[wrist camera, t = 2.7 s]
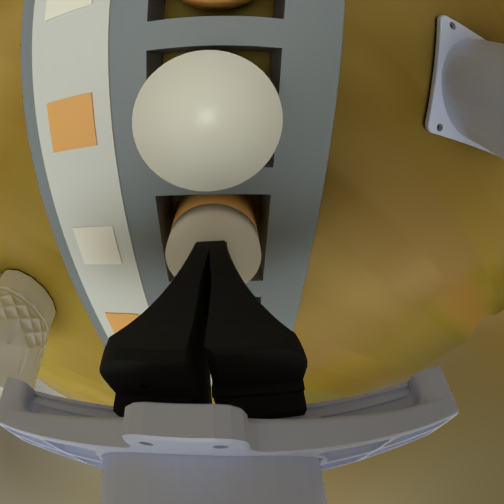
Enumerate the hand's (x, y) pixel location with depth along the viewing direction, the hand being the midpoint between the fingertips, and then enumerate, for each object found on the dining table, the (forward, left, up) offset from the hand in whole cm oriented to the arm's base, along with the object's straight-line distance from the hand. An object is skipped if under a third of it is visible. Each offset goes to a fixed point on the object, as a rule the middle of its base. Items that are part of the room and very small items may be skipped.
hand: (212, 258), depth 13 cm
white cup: (+18, +8, -4) cm, 20 cm away
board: (+2, -3, -4) cm, 6 cm away
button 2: (0, -7, -2) cm, 7 cm away
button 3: (0, 0, -4) cm, 4 cm away
